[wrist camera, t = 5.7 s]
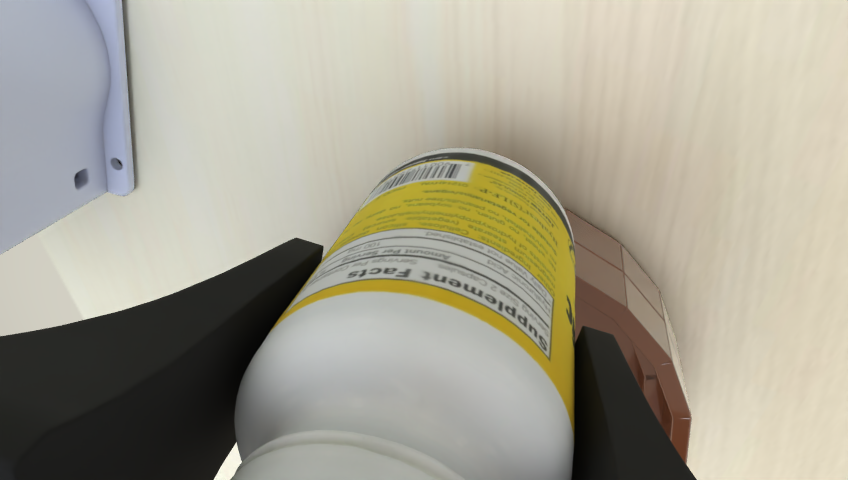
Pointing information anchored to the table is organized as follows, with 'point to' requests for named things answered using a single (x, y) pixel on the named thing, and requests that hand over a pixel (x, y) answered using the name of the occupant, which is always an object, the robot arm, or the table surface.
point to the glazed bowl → (631, 324)
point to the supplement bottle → (425, 337)
